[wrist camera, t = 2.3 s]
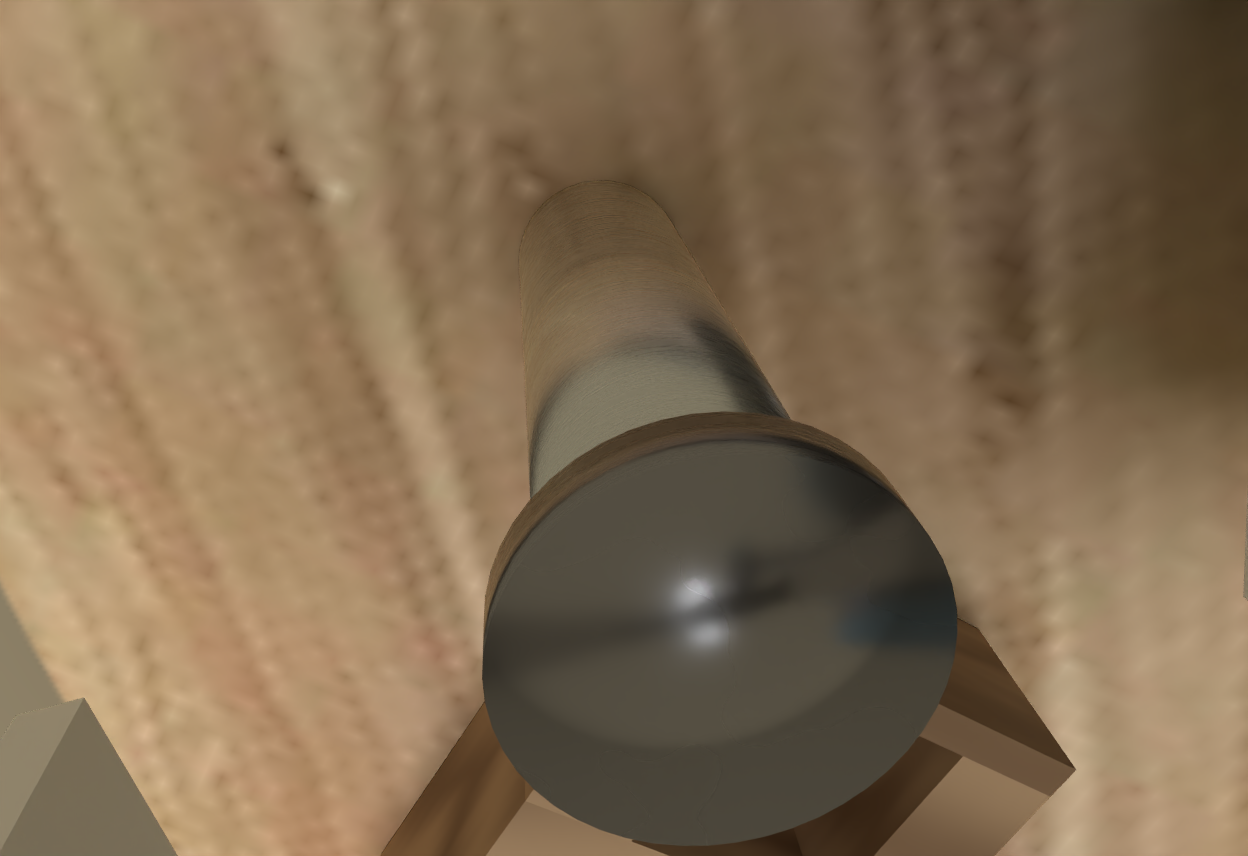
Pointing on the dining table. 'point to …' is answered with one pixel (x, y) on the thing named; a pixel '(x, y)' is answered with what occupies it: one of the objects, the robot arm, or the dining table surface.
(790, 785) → the steel pin
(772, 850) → the block
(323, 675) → the dining table surface
